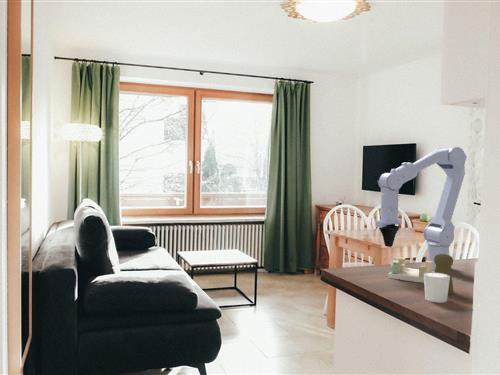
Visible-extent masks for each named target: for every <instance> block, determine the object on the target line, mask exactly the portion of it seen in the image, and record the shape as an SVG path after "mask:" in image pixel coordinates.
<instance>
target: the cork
mask: <svg viewBox="0 0 500 375" xmlns="http://www.w3.org/2000/svg"><path fill="white" fill-rule="evenodd" d="M434 262H435V264H436V268H435V271H434V272H436V273H443V274H447V275H449V276H450V280H449V288H448V295H453V294H454V286H453V285H454V284H453V282H454V281H453V274H452V268H451V267H452V266H453V264H454V259H453V257H452V256H451V255H450V254H449V255H446V254H438V255H436V256H435V258H434Z"/></svg>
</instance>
